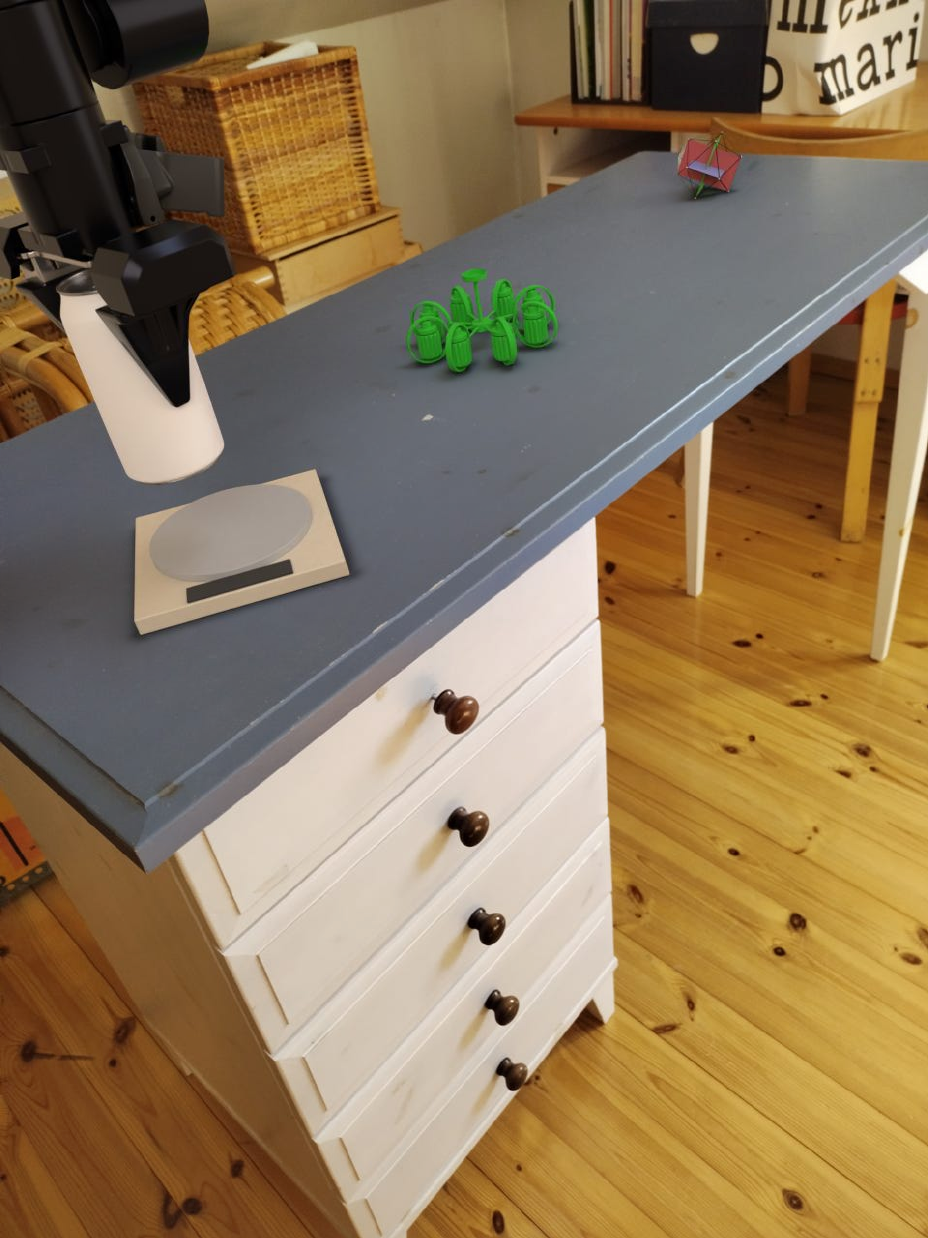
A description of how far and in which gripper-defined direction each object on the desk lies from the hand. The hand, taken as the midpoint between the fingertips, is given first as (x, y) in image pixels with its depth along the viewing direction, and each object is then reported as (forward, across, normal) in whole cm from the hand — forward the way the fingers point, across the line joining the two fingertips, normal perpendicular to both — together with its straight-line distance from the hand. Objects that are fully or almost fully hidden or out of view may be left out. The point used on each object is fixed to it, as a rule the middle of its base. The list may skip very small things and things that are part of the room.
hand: (153, 393), depth 58 cm
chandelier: (+14, +10, -37) cm, 41 cm away
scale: (+13, +1, -2) cm, 13 cm away
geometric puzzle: (+14, +16, -84) cm, 87 cm away
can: (+5, 0, 0) cm, 5 cm away
